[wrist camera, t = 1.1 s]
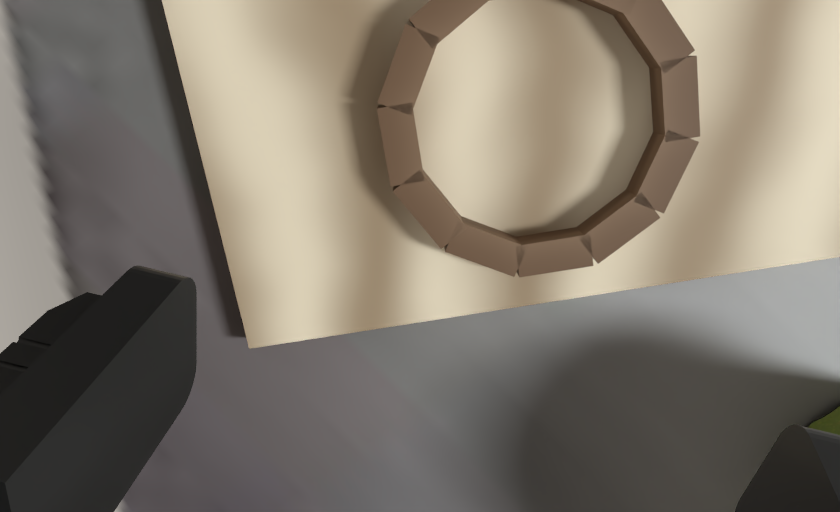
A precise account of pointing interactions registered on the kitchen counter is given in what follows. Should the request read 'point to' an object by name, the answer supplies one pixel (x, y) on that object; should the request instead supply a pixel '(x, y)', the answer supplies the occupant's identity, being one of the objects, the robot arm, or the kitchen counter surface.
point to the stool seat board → (505, 149)
